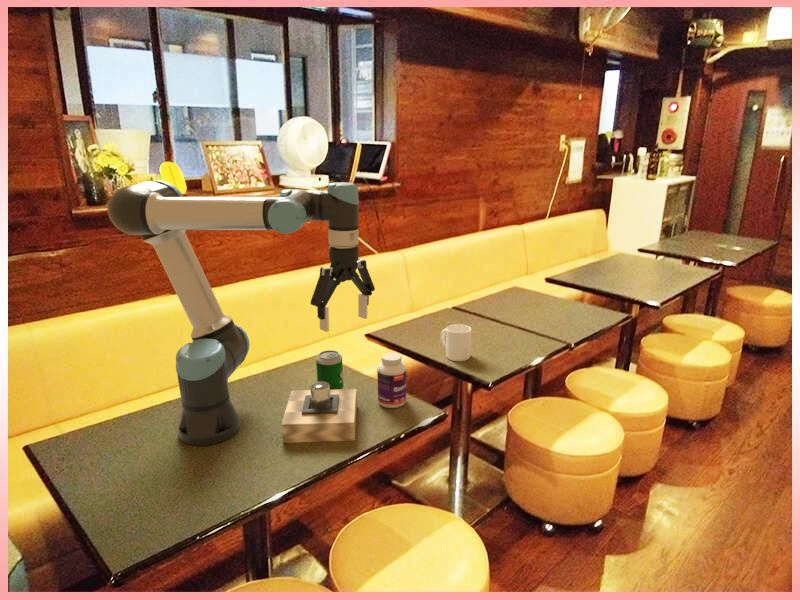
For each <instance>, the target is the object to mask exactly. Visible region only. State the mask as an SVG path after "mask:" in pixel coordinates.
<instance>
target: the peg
mask: <svg viewBox="0 0 800 600" xmlns="http://www.w3.org/2000/svg"><path fill="white" fill-rule="evenodd" d="M309 390H310V391H311V406H312V408H313V409H324V408H329V407H330V405H331V403H330V385H329V383H327V382H317V381H315V382H313V383H311V384H310V386H309Z"/></svg>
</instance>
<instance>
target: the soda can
mask: <svg viewBox="0 0 800 600" xmlns="http://www.w3.org/2000/svg"><path fill="white" fill-rule="evenodd" d="M315 363H316V379H317V381H316V382H327V383H329V385H330V390H335V389H344V375H343V373H344V372H343V370H344V369H343V368H344V367H343V356H342V354H340V353H339V352H338V351H336V350H331V349H330V350H329V349H328V350H323V351H320V353H318V355H317V356H316V358H315Z"/></svg>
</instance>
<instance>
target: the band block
mask: <svg viewBox="0 0 800 600" xmlns="http://www.w3.org/2000/svg"><path fill="white" fill-rule="evenodd" d="M357 395H358V394H357V388H343V389H335V390H330V403H331V405H330V407H329V408H324V409H313V408H312V406H311V391H310V389H304V390H302V389H301V390H298V389H297V390H291V392H290V395H289V398H288V401H287V404H286V409H285V411H284V414H283V417H282V421H281V424H280V426H281V437H282V443H283V444H284V443H285V444H286V443H287V444H288V443H291V444H292V443H313V442H314V443H315V442H316V443H318V442H319V443H320V442H322V441H323V443H325V442H350V441H351V442H352V441H353V442H355V440H356V426H357V423H356V422H357V410H358V409H357V408H358V401H357V400H358V399H357V397H358V396H357Z"/></svg>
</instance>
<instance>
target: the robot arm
mask: <svg viewBox="0 0 800 600" xmlns="http://www.w3.org/2000/svg"><path fill="white" fill-rule="evenodd" d="M359 207H360V200H359V188H358V185H356V184H355V183H353V182H345V181H341V182H338V181H337V182H330V183H329V184H328V186H327V189H326V190H314V189H312V190H309V189H297V188H293V189H283V190H281V191H280V193H279V195H278V196H270V197H269V196H267V197H266V196H207V197H206V196H184V195H183V194H182V192H181V191H180V190H179V188H177V187H176V186H175V185H173V184H172V183H169V182H167V181H164V180H147V181H144V182H140V183H137V184H131V185H126V186H123V187H120V188H119V189H118V190H115V191H114V193H113V194H112V195H111V196H110V198H109V200H108V204H107V215H108V218H109V220H110V222H111V223H112V224H113V226H114V227H115V228H116V229H117V230H119V231H120V232H122V233H125V234H126V235H127V234H128V235H132V236H140V237H141V238H142V240H143V242H145V243H147V244H149V245H151V246H152V247H153V249H154V251H155V252H156V253H155V254H156V255H157V256H158V259H159V260H160V263H161V265H162V267H163V269H164V271H165V273H166V275H167V277H168V279H169V282H170V284H171V286H172V288H173V290H174V292H175V293H176V296H177V298H178V300H179V302H180V304H181V305H182V308H183V310H184V312H185V314H186V317H187V318H188V320H189V322H190V324H191V326H192V330H191V333H190V338H191V339H192V342H187V343H186V344H184V345H182V346H181V347H180V348H179V349H178V351H177V352H176V355H175V371H176V374H177V375H176V376H177V382H178V387H179V394H180V399H181V407H182V408H181V412H180V418H179V423H178V426H177V430H178V438H179V440H180V441H181V442H183V444H187V445H189V446H194V447H195V446H197V447H203V446H210V445H216V444H220V443H221V442H224V441H226V440H228V439H231V438H232V437H233V436H235V435H236V434H237V432H238V431H239V430H240V428H241V427H240V426H241V425H240V417H239V414H238V412H237V410H236V408H235V407H234V405H233V403H232V401H231V399H230V398H231V397H230V389H229V378H230V377H231V376H232V375H233V374H234V373H235V371H236V370H237V368H238V367H239V366H241V365H242V364H243V363H244V361H245V360H246V357H247V355H248V353H249V351H250V339H249V336H248V334H247V332H246V331H245V330H244V329H243V328H242V327H241V326H238V325H237V324H236V323H235V322H234V320H233V318H232V317H231V316H228V315H225V314H224V313H223V310H222V308H221V306H220V303H219V302H218V299H217V298H216V295H215V293H214V291H213V289H212V286H211V284H210V283H209V281H208V278H207V276H206V275H205V272H204V270H203V268H202V265H201V263H200V261H199V259H198V257H197V255H196V253H195V251H194V248H193V246H192V244H191V242H190V240H189V238H188V236H187V234H186V231H275V232H277V233H279V234H283V235H285V234H287V235H288V234H292V233H295V232H297V231H299V230H300V229H301V228H302V227H303V226H304V225H305V224H307V223H308V222H311V221H312V222H313V221H314V222H327V223H328V244H329V247H328V260H329V261H330V266H329V267H324V266H321V267H320V270H319V277H318V279H317V283H316V285H315V289H314V291H313V293H312V297H311V299H310V302H309V304H310V305H312V306H315V307H316V308H317V318H318V319H319V329H320V330H322V331H324V332H326V333H327V332H329V331H330V321H329V320H330V319H329V318H330V317H329V316H330V315H329V314H330V313H329V312H330V310H329V306H327V305H328V303H329V301H330V299H331V298H332V296H333V294H334V292H335V290H336V289H337V287H338V286H339V285H341V283H344V282H346V281H352V283H353V284H354V286H356V288H357V289H358V291H359V292H360V293H358V299H357V300H358V306H357V307H358V311H357V313H358V315H357V317H359V318H361V319H365V320H366V319H368V306H369V302H370V297H369V296H372V294H373V292H374V291H375V290H376V289H375V285H374V283H373V279H372V277H371V275H370V273H369V270H368V268H367V267H368V266H367V260H365V259H361V258H360V255H359V251H360V250H359V249H360V248H359V246H358V244H359V229H360V227H359V219H360V218H359V215H360V214H359V213H360V211H359V210H360V208H359ZM357 271H358V272H357ZM358 273H359V274H358Z"/></svg>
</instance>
